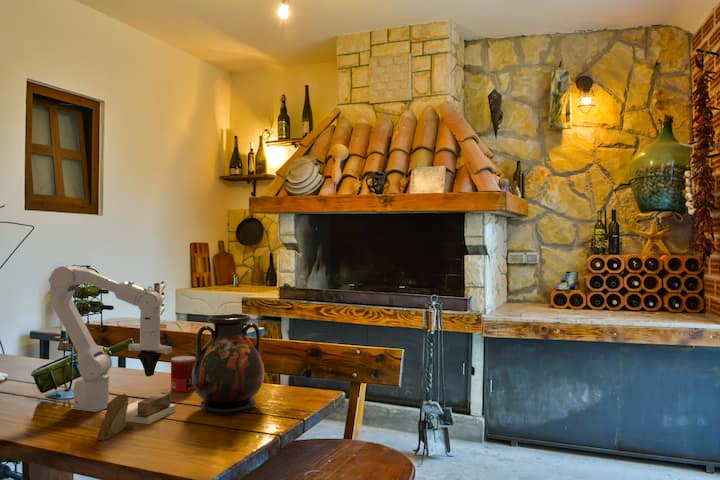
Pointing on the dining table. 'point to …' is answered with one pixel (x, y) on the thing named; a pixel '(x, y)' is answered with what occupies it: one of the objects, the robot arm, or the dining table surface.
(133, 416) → the stool seat
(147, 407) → the stool leg
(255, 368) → the amphora vase
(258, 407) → the dining table surface
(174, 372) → the canned food
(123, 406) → the rock
